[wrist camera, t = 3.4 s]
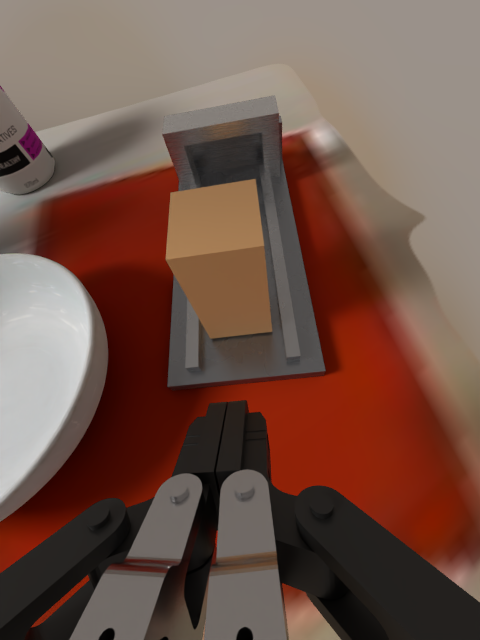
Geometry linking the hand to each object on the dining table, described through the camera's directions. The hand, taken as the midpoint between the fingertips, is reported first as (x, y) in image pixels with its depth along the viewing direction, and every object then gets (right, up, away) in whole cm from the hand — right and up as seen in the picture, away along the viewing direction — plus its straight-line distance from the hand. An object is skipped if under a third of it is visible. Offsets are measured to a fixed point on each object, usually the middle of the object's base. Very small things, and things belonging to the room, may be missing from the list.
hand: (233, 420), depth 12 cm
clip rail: (0, +11, +17) cm, 20 cm away
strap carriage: (0, +8, +14) cm, 16 cm away
